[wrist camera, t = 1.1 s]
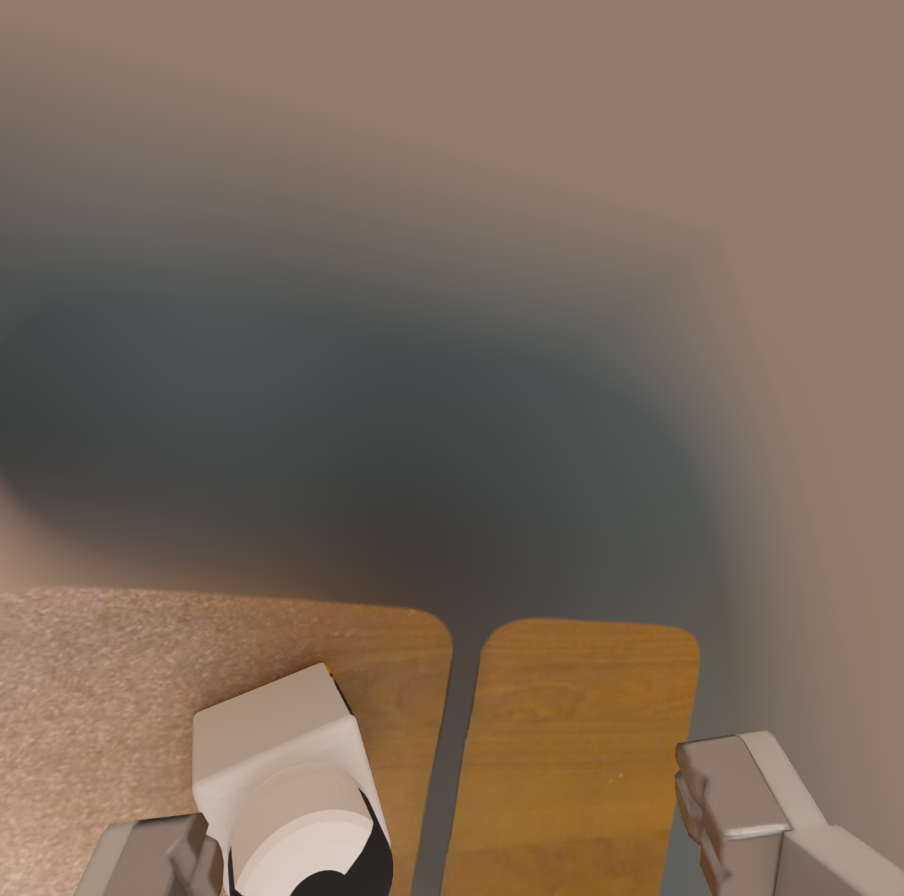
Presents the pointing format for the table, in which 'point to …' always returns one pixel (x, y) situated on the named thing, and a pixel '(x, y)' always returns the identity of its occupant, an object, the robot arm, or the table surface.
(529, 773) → the table surface
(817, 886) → the robot arm
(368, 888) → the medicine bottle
